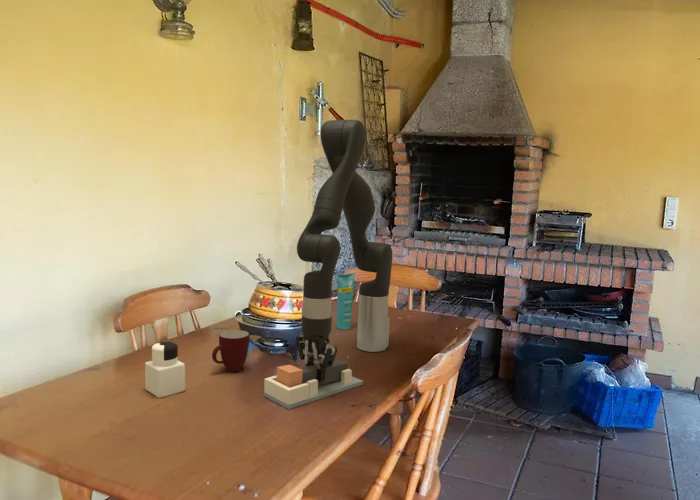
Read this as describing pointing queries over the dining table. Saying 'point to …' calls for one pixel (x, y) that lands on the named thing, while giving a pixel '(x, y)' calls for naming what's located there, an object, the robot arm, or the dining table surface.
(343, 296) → the tube
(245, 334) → the mug
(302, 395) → the clip
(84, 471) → the dining table surface
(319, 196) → the robot arm
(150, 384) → the medicine bottle
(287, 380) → the bar
